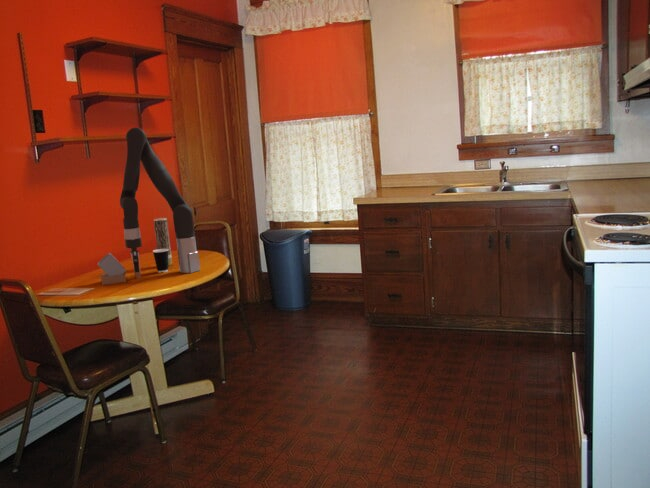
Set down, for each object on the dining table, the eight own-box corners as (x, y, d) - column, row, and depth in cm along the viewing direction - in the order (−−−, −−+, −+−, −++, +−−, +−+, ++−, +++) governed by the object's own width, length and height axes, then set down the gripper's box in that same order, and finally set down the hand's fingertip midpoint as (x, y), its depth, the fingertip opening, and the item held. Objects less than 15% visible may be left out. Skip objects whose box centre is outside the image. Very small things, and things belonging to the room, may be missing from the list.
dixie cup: (173, 271, 311) (170, 249, 310) (158, 274, 307) (155, 252, 305) (168, 269, 318) (165, 248, 316) (152, 271, 314) (150, 250, 312)
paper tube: (174, 263, 331) (168, 217, 326) (169, 266, 324) (164, 219, 320) (162, 264, 332) (156, 218, 327) (157, 267, 325) (151, 220, 321)
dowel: (142, 277, 302) (139, 253, 300) (137, 278, 300) (134, 254, 298) (138, 277, 304) (135, 253, 302) (133, 278, 301) (130, 254, 299)
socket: (126, 277, 304) (122, 250, 301) (127, 281, 295) (123, 253, 293) (100, 281, 300) (96, 253, 298) (100, 285, 292) (96, 256, 289)
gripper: (124, 236, 304) (128, 268, 307) (125, 240, 291) (129, 274, 293) (140, 234, 306) (144, 266, 309) (141, 238, 293) (145, 272, 296)
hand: (136, 270), depth 301 cm, fingers open, 8 cm apart
